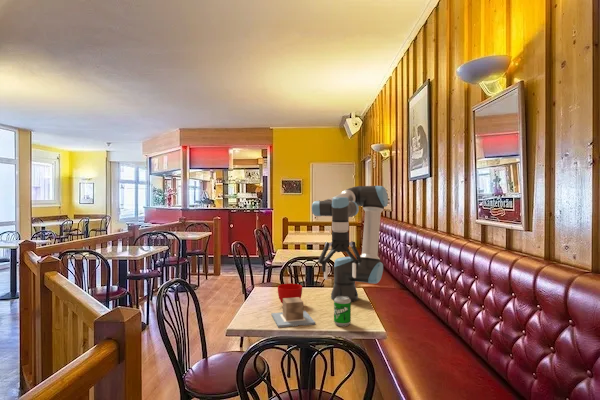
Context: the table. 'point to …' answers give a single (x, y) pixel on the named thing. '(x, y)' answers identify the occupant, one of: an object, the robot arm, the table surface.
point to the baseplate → (282, 321)
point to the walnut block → (292, 308)
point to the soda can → (342, 311)
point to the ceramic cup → (289, 291)
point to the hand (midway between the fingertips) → (340, 278)
